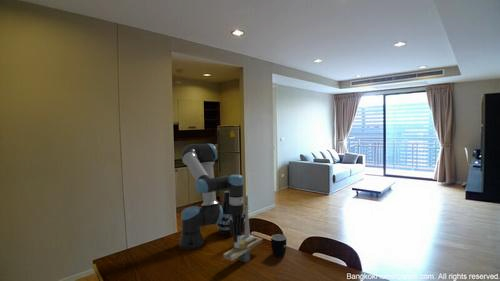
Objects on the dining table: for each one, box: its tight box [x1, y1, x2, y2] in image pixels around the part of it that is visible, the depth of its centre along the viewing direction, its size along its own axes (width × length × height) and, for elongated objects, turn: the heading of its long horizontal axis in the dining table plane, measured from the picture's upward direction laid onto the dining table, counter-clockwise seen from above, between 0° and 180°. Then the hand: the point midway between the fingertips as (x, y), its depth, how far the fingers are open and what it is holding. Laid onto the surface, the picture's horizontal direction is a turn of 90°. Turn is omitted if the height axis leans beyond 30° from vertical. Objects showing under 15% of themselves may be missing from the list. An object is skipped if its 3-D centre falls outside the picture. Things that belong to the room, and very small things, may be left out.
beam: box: [222, 235, 264, 264], centre depth 145 cm, size 6×28×8 cm, turn 143°
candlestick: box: [240, 195, 255, 241], centre depth 171 cm, size 13×13×30 cm
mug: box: [270, 233, 287, 258], centre depth 152 cm, size 12×9×10 cm
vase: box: [216, 190, 231, 235], centre depth 184 cm, size 16×16×30 cm
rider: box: [235, 239, 248, 251], centre depth 142 cm, size 6×5×5 cm
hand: (237, 247), depth 140 cm, fingers closed
